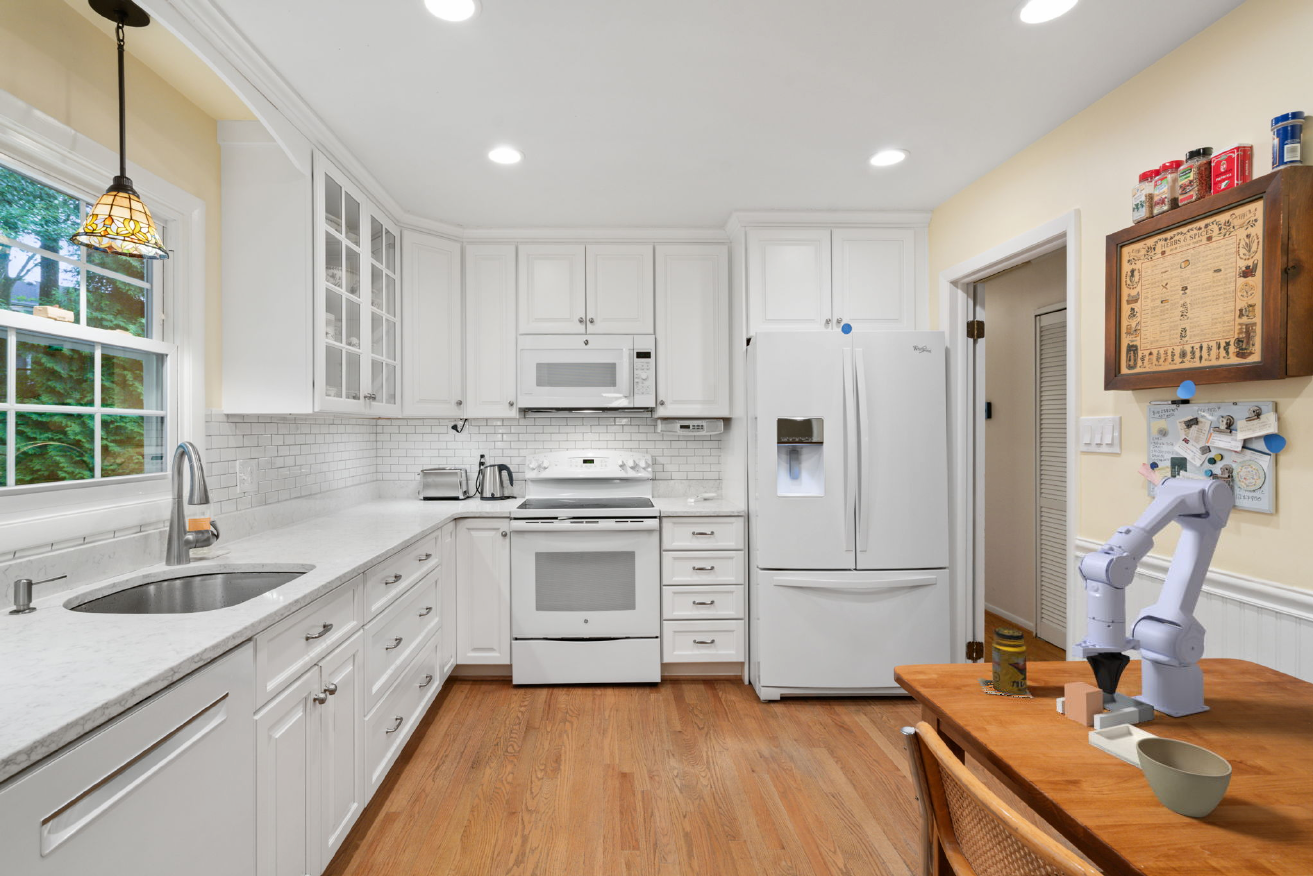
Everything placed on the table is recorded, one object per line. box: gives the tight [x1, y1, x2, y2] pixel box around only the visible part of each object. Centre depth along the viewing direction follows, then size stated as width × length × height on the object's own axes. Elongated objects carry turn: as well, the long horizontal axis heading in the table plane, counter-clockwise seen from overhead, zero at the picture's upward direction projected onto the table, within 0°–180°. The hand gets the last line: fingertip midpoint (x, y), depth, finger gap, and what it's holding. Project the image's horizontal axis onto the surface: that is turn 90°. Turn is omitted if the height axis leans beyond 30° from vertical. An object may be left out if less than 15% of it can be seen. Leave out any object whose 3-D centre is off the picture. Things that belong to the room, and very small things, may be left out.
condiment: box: [977, 627, 1034, 699], centre depth 122 cm, size 7×8×12 cm
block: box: [1064, 680, 1104, 727], centre depth 108 cm, size 4×4×6 cm
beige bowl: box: [1136, 736, 1233, 818], centre depth 83 cm, size 10×10×7 cm
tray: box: [1088, 724, 1161, 770], centre depth 97 cm, size 9×9×2 cm
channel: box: [1056, 696, 1139, 730], centre depth 109 cm, size 10×8×2 cm
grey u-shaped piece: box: [1102, 691, 1155, 723], centre depth 111 cm, size 4×8×2 cm, turn 17°
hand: (1106, 692), depth 110 cm, fingers closed
